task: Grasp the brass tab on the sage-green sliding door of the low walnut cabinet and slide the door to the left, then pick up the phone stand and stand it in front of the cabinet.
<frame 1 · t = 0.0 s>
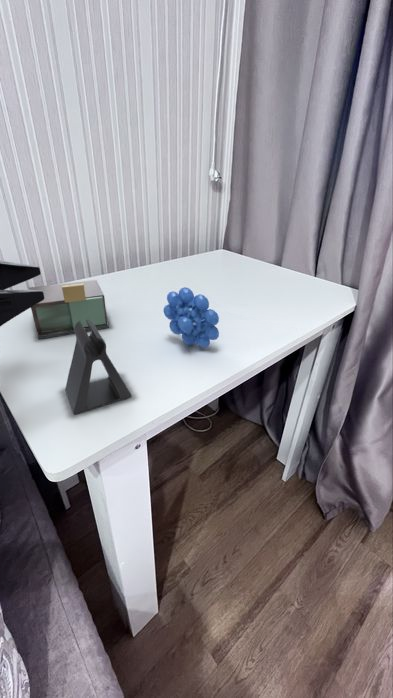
hand: (41, 281, 45), 18 cm above the table, tool horizontal, fingers open, 9 cm apart
grapes: (188, 347, 66), on the table
cabinet: (71, 320, 73), on the table
door: (84, 305, 67), point 6 cm above the table, slide at 0.0 cm
phone stand: (98, 395, 53), on the table
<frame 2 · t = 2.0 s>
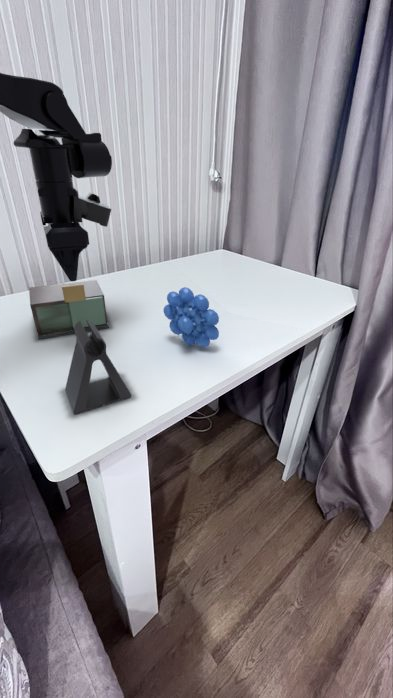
hand: (70, 272, 63), 13 cm above the table, tool pointing down, fingers open, 9 cm apart
nothing on the table moved.
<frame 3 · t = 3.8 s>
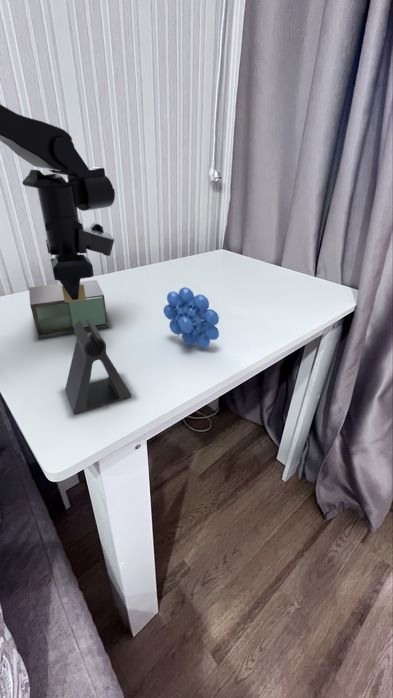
hand: (74, 298, 65), 8 cm above the table, tool pointing down, fingers closed on door
door: (84, 305, 67), point 6 cm above the table, slide at 0.0 cm, touching gripper
everything else where it was.
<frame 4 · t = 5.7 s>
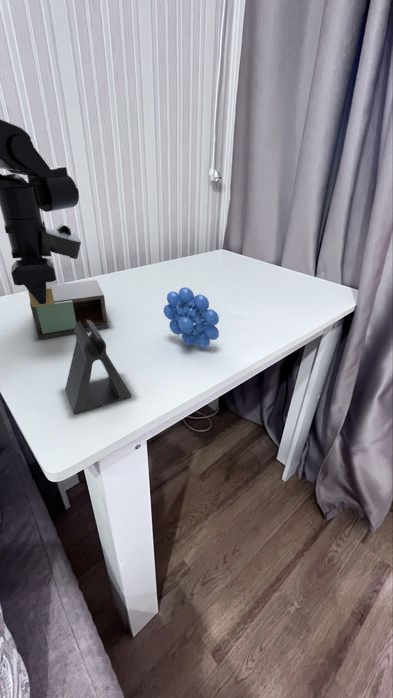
hand: (42, 302, 63), 7 cm above the table, tool pointing down, fingers closed on door
door: (54, 310, 65), point 6 cm above the table, slide at 5.9 cm, touching gripper
everything else where it was.
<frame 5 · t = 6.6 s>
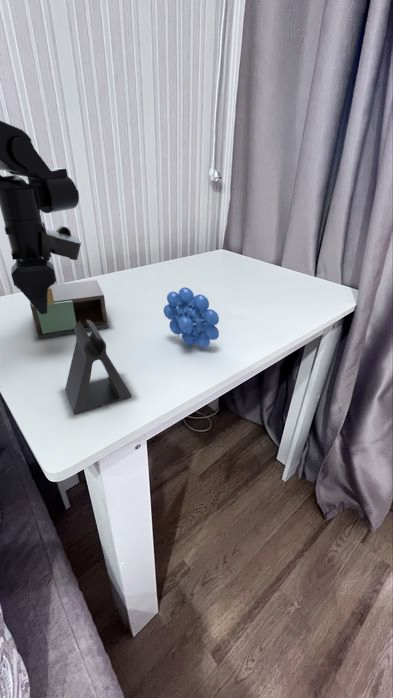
hand: (42, 303, 63), 7 cm above the table, tool pointing down, fingers open, 9 cm apart
door: (53, 310, 65), point 6 cm above the table, slide at 5.9 cm
everything else where it was.
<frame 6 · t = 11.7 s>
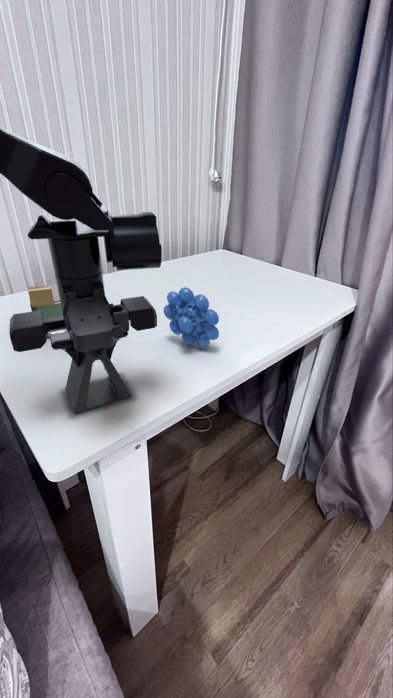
hand: (94, 370, 50), 5 cm above the table, tool pointing down, fingers closed on phone stand, 3 cm apart
phone stand: (98, 395, 53), on the table, touching gripper
everything else where it was.
when the fingers open (5 cm above the table, at t = 16.1 s): phone stand stays where it is, on the table.
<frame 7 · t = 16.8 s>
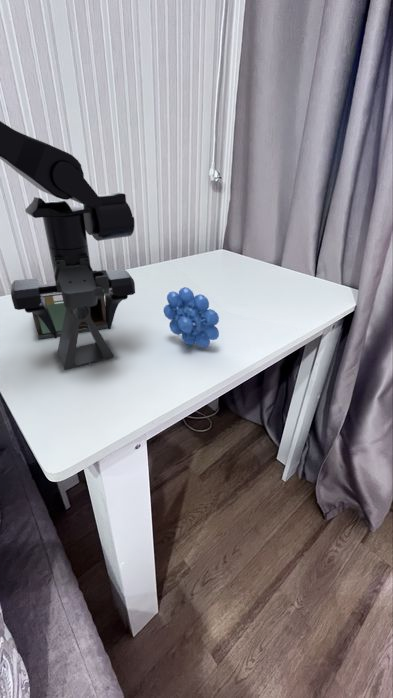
hand: (83, 332, 59), 5 cm above the table, tool pointing down, fingers open, 9 cm apart
phone stand: (86, 356, 62), on the table
everything else where it was.
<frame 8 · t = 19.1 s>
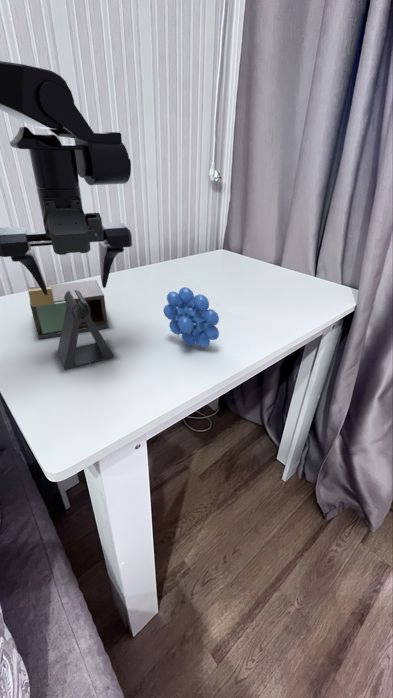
hand: (76, 290, 55), 13 cm above the table, tool pointing down, fingers open, 9 cm apart
nothing on the table moved.
at the end: door slide at 5.9 cm; phone stand inside the target area on the table beside the cabinet (0.2 cm from its centre), on the table; phone stand tilted 0° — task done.
